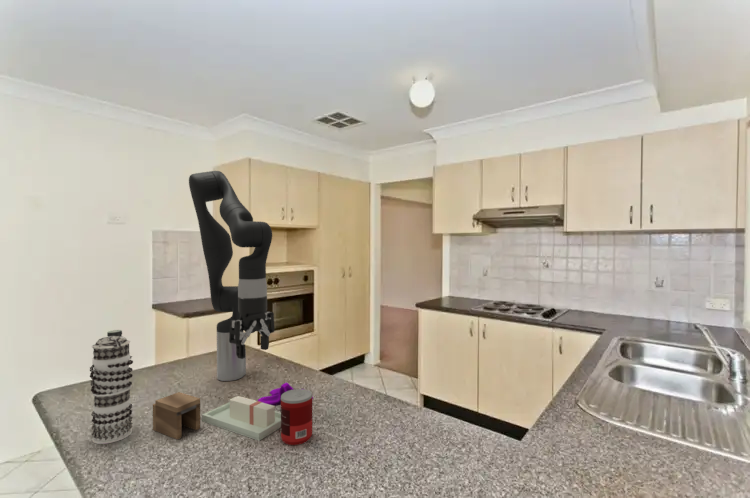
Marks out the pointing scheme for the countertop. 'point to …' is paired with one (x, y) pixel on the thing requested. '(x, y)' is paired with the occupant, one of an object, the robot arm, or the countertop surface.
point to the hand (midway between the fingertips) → (253, 353)
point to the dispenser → (176, 414)
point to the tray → (239, 423)
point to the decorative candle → (111, 390)
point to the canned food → (296, 416)
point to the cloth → (276, 395)
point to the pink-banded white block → (252, 411)
